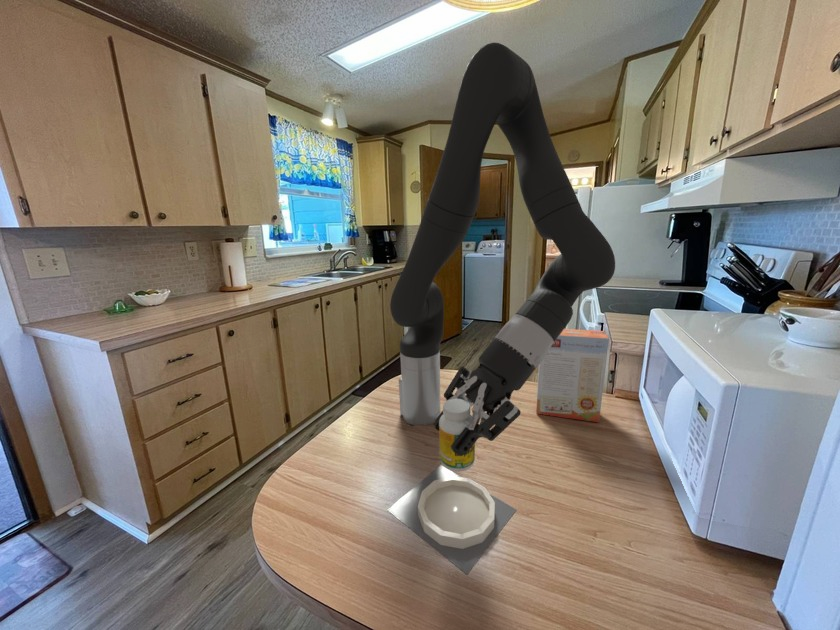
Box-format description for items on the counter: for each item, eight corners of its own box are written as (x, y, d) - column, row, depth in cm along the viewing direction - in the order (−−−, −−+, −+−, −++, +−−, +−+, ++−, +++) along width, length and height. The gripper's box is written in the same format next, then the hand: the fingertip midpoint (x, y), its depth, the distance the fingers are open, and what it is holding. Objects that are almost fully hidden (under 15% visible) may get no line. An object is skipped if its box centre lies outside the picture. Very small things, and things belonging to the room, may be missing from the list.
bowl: (404, 516, 55) (403, 507, 54) (449, 475, 63) (449, 467, 63) (465, 564, 47) (465, 554, 46) (508, 510, 55) (508, 501, 55)
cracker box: (595, 410, 84) (605, 330, 78) (599, 423, 78) (610, 338, 73) (535, 402, 88) (541, 325, 83) (535, 414, 83) (541, 333, 77)
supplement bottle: (459, 445, 56) (459, 392, 53) (482, 463, 52) (483, 407, 49) (433, 458, 53) (431, 403, 50) (454, 478, 49) (454, 419, 46)
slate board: (387, 512, 56) (386, 509, 56) (440, 467, 66) (440, 465, 66) (466, 577, 46) (466, 574, 45) (516, 512, 55) (516, 509, 55)
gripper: (475, 325, 56) (411, 405, 55) (534, 354, 43) (452, 460, 42) (501, 349, 60) (441, 426, 59) (563, 383, 47) (488, 482, 46)
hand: (446, 440), depth 51 cm, fingers closed on supplement bottle, 5 cm apart
